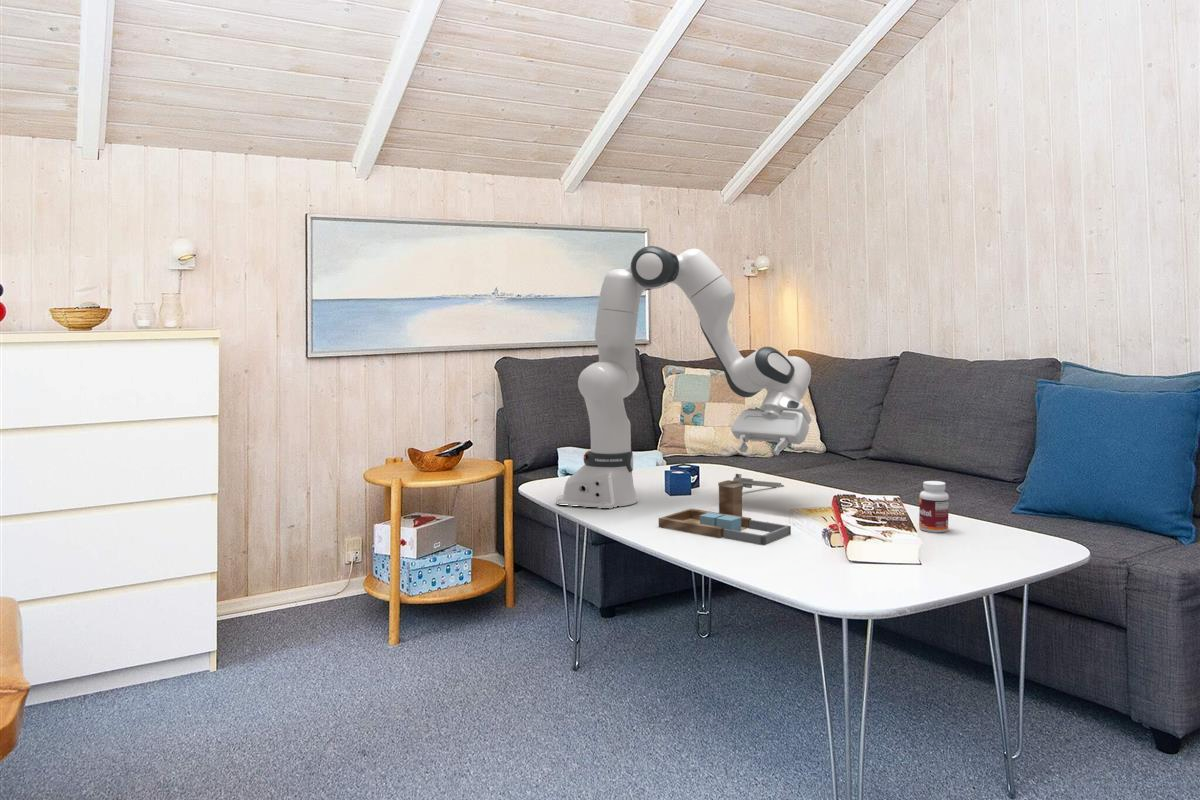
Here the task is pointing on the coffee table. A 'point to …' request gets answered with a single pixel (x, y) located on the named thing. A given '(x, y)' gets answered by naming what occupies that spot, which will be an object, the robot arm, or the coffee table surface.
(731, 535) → the tray
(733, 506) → the block
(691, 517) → the slot board
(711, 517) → the pale blue block
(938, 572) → the coffee table surface
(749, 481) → the caliper
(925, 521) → the pill bottle
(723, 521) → the light blue block
